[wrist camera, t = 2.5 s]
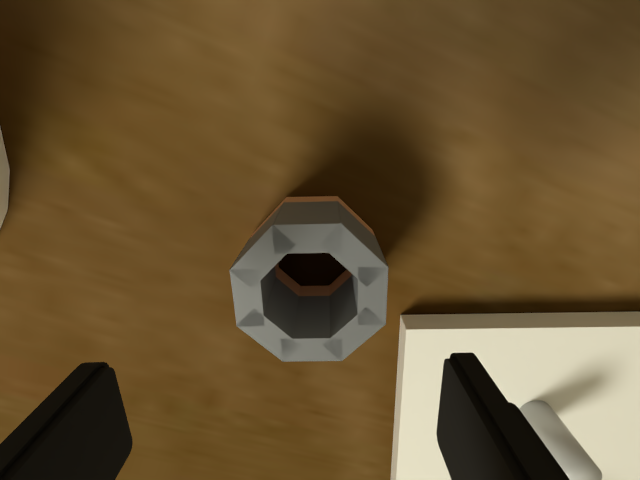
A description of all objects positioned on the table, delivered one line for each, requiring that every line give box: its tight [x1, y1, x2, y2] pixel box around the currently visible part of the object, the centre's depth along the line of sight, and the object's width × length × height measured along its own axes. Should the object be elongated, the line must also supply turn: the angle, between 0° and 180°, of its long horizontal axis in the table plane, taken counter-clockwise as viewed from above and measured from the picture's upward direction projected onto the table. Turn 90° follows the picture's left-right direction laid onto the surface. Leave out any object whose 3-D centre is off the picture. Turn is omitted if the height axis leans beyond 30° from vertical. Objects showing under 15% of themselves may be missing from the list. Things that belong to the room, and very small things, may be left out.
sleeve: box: [229, 196, 388, 362], centre depth 17 cm, size 6×6×5 cm
